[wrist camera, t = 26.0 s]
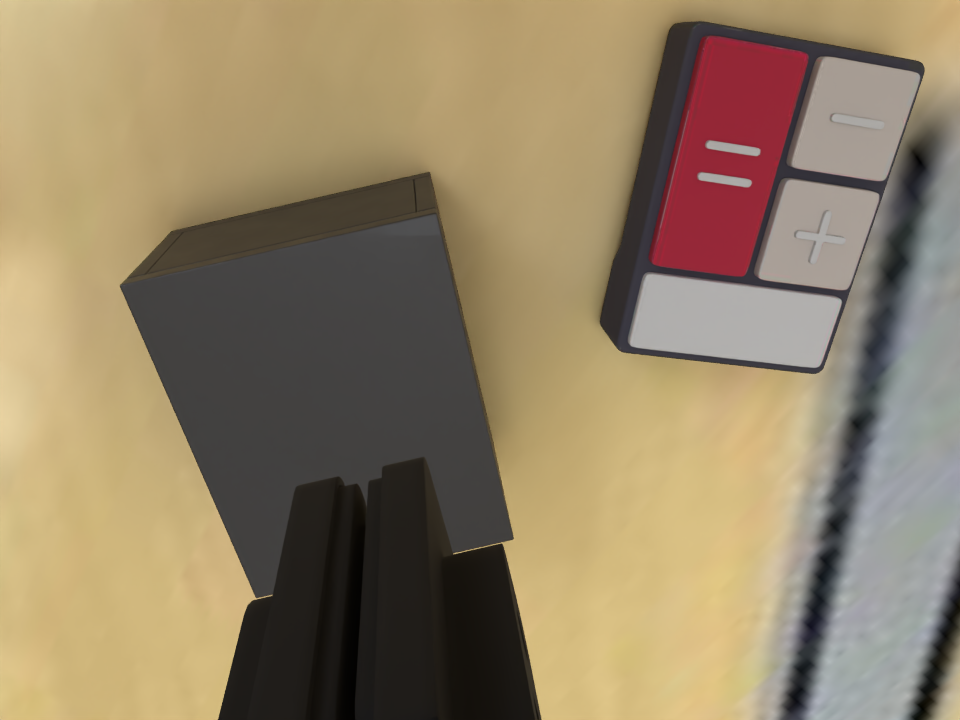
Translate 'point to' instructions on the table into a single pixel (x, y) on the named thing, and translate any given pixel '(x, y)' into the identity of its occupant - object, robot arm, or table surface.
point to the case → (299, 228)
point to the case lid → (323, 378)
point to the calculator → (754, 196)
